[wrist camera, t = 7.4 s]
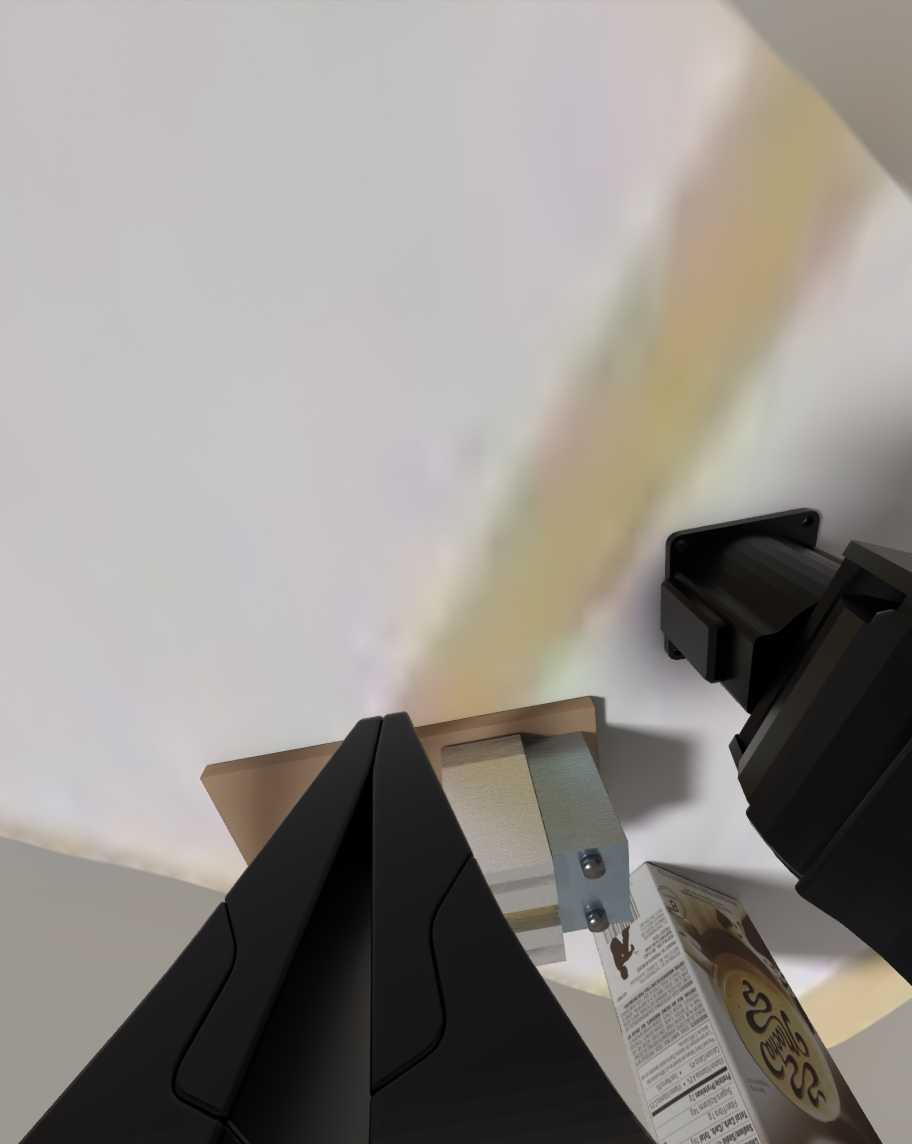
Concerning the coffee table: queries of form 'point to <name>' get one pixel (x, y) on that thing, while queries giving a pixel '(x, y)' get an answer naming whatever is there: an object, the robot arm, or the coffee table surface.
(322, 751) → the board
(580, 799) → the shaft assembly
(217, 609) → the coffee table surface
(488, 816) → the grey slotted block
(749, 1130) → the coffee box
